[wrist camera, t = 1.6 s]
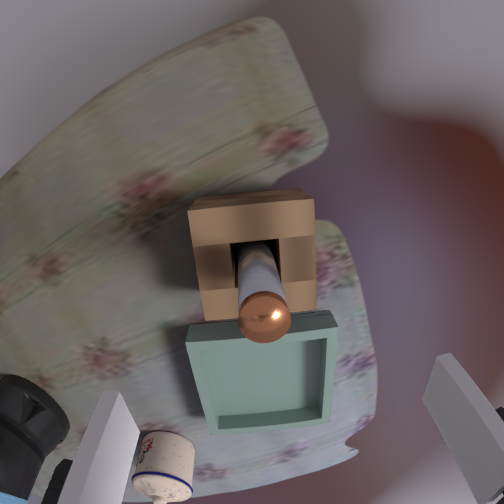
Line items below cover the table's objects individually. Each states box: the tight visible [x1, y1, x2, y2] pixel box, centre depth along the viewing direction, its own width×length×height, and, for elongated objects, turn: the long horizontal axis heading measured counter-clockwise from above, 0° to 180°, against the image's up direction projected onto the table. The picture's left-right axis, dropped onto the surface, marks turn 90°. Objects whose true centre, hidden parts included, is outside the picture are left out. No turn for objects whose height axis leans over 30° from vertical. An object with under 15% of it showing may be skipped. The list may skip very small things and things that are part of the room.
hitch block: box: [187, 188, 316, 321], centre depth 29 cm, size 10×10×6 cm
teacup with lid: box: [132, 431, 195, 504], centre depth 38 cm, size 12×9×12 cm
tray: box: [185, 311, 338, 435], centre depth 36 cm, size 16×16×4 cm
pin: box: [238, 240, 291, 343], centre depth 25 cm, size 3×3×15 cm
